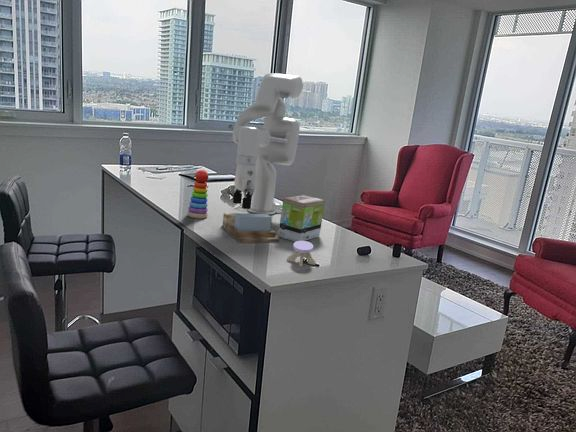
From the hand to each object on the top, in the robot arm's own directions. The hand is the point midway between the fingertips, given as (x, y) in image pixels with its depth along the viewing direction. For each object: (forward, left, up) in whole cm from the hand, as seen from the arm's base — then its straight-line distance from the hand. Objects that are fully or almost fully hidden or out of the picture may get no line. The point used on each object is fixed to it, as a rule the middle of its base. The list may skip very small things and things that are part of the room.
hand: (241, 205), depth 178 cm
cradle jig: (-1, +11, -8) cm, 14 cm away
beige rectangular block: (0, -1, -9) cm, 9 cm away
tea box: (-19, +13, -9) cm, 25 cm away
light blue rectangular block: (-1, +11, -7) cm, 13 cm away
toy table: (-6, +41, -9) cm, 42 cm away
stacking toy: (+12, -16, -9) cm, 21 cm away
